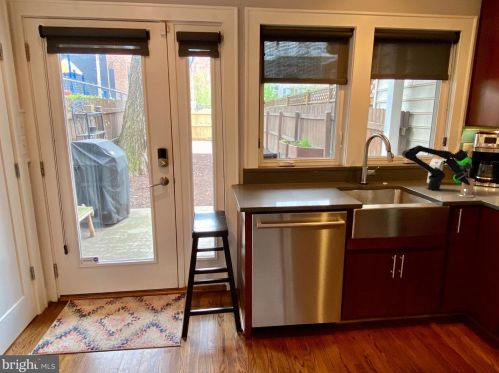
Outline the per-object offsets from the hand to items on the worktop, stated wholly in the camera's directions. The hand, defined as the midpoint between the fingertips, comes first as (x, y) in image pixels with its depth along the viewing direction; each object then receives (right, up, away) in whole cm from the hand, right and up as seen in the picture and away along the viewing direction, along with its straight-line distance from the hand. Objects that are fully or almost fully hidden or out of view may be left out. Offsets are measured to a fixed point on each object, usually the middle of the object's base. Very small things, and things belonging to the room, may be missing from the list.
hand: (470, 184), depth 222 cm
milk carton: (-7, +1, +31) cm, 32 cm away
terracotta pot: (-1, -6, +2) cm, 7 cm away
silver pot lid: (-7, -8, -5) cm, 11 cm away
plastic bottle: (+15, +1, +35) cm, 38 cm away
